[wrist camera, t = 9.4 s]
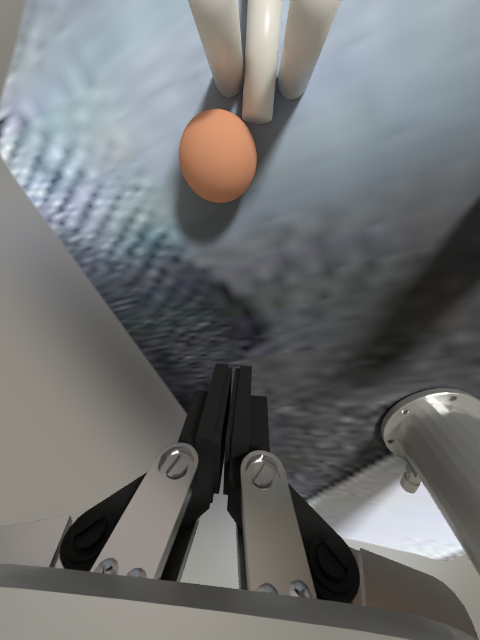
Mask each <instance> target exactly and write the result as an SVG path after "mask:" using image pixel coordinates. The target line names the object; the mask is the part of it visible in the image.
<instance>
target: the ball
mask: <svg viewBox="0 0 480 640" xmlns="http://www.w3.org/2000/svg"><path fill="white" fill-rule="evenodd" d="M179 159H180V166H181V170H182V173H183V175H184V178H185V180H186V181H187V183H188V185H189V186H190V187H191V189H192V190H193V191H194V192H195V193H196V194H197V195H199V196H200V197H202V198H203V199H205V200H207V201H210V202H214V203H226V202H230V201H232V200H235V199H236V198H238V197H239V196H241V195H242V194H243V193H244V192H245V191H246V190H247V188H248V187H249V185H250V184H251V182H252V180H253V177H254V174H255V171H256V165H257V152H256V146H255V142H254V139H253V137H252V134H251V132H250V131H249V129H248V127H247V126H246V125H245V123H244V122H243V121H242V120H241V119H240V118H239V117H237V116H236V115H234V114H233V113H231V112H229V111H226V110H222V109H209V110H206V111H203V112H201V113H199V114H198V115H196V116H195V117H194V118H193V119H192V120H191V121H190V122H189V123H188V125H187V127H186V128H185V130H184V132H183V135H182V138H181V141H180V147H179Z"/></svg>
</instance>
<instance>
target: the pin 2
mask: <svg viewBox="0 0 480 640" xmlns="http://www.w3.org/2000/svg"><path fill="white" fill-rule="evenodd" d="M340 2H341V0H290V5H289V11H288V18H287V24H286V31H285V37H284V43H283V50H282V56H281V63H280V69H279V75H278V88H279V91H280V93H281V94H282V96H283V97H285V98H286V99H289V100H294V99H297V98H299V97H300V96H301V95H302V94H303V93H304V92H305V90H306V88H307V85H308V83H309V80H310V78H311V75H312V73H313V70H314V68H315V65H316V63H317V60H318V58H319V55H320V53H321V50H322V47H323V45H324V42H325V40H326V37H327V35H328V32H329V30H330V27H331V25H332V22H333V20H334V17H335V15H336V12H337V10H338V7H339V4H340Z"/></svg>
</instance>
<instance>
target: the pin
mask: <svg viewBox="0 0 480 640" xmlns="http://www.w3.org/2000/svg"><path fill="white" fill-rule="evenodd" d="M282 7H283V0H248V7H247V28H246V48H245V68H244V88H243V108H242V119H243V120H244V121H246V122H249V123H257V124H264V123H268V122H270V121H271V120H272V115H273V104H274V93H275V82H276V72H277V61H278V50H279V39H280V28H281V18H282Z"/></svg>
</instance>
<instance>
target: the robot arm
mask: <svg viewBox="0 0 480 640" xmlns="http://www.w3.org/2000/svg"><path fill="white" fill-rule="evenodd" d="M251 374H252V366H241V365H240V369H239V368H235V375H234V383H233V390H232V397H231V380H232V368H228V364H217V363H216V365H215V369H214V373H213V376H212V380H211V384H210V387H209V391H208V392H207V391H196V392H195V394H194V397H193V400H192V403H191V406H190V409H189V411H188V414H187V417H186V420H185V423H184V426H183V429H182V432H181V435H180V437H179V440H178V443H174V444H171V445H169V446H167V447H165V448H164V449H163V450H162V451H160V453H159V454H158V455H157V456H156V458H155V460H154V461H153V463H152V465H151V467H150V469H149V470H148V472H147V473H145V474H144V475H142V476H141V477H139V478H137V479H136V480H134V481H133V482H132V483H130V484H128V485H127V486H125V487H124V488H122V489H120V490H119V491H117V492H116V493H114V494H113V495H111V496H110V497H108V498H106V499H105V500H103V501H102V502H100V503H99V504H97V505H96V506H94V507H93V508H91V509H89V510H88V511H86V512H85V513H84V514H82V515H81V516H80V517H77V518H71V517H70V516H63V517H57V518H50V519H44V520H38V521H32V522H25V523H19V524H13V525H7V526H1V527H0V640H479V639H478V636H477V633H476V631H475V628H474V625H473V623H472V620H471V618H470V616H469V614H468V612H467V610H466V608H465V606H464V605H463V604H462V602H461V601H460V600H459V598H458V597H457V596H456V594H455V593H454V592H453V591H452V590H451V589H450V588H449V587H448V586H447V585H445V584H444V583H443V582H442V581H440V580H438V579H437V578H435V577H433V576H431V575H428V574H426V573H423V572H421V571H418V570H415V569H413V568H411V567H408V566H406V565H403V564H400V563H398V562H395V561H393V560H390V559H388V558H385V557H383V556H380V555H377V554H375V553H372V552H369V551H367V550H365V549H362V548H360V550H359V551H358V550H355V549H353V548H351V547H348V545H347V544H346V543H345V542H344V540H343V539H342V538H341V537H340V536H339V535H338V534H337V533H336V532H335V531H334V530H333V529H332V528H331V527H330V526H329V525H328V524H327V523H326V522H325V521H324V520H323V519H322V518H321V517H320V516H319V515H318V514H317V513H316V511H315V510H314V509H313V508H312V507H311V506H310V505H309V504H308V503H307V502H306V501H305V500H304V499H303V498H302V497H301V496H300V495H299V494H298V493H297V492H296V491H295V490H294V489H293V488H292V487H291V486H290V485H289V484H288V482H287V478H286V475H285V471H284V468H283V465H282V463H281V462H280V461H279V459H278V458H277V457H276V456H274V455H273V454H272V453H270V448H269V429H268V410H267V397H263V396H252V395H251ZM230 400H231V404H230ZM381 436H382V439H383V441H384V442H385V444H386V446H387V447H388V449H389V450H390V451H391V452H393V453H394V454H395V455H397V456H399V457H402V458H404V460H405V462H406V466H405V468H406V470H407V471H406V472H405V473H404V475H403V476H402V478H401V480H400V484H401V486H402V488H403V489H404V490H405V491H407V492H409V493H415V492H416V490H417V489H418V487H419V485H420V482H421V481H422V483H423V484H424V486H425V487H426V489H427V491H428V492H429V494H430V496H431V497H432V499H433V500H434V502H435V504H436V505H437V507H438V509H439V510H440V512H441V513H442V515H443V517H444V518H445V520H446V522H447V523H448V525H449V526H450V528H451V530H452V531H453V533H454V535H455V536H456V538H457V539H458V541H459V543H460V544H461V546H462V548H463V549H464V551H465V552H466V554H467V556H468V557H469V559H470V560H471V562H472V564H473V565H474V567H475V569H476V570H477V572H478V573H479V575H480V401H479V400H478V399H477V398H475V397H474V396H473V395H471V394H469V393H467V392H465V391H461V390H458V389H451V388H437V389H430V390H425V391H422V392H418V393H415V394H413V395H411V396H408V397H406V398H405V399H403V400H401V401H400V402H398V403H397V404H396V405H394V406H393V407H392V408H391V409H390V410H389V412H388V413H387V414H386V415H385V417H384V419H383V421H382V424H381ZM224 453H225V464H224V489H223V490H224V491H223V494H226V495H228V505H227V511H228V512H229V514H230V515H231V516H232V518H233V519H234V521H235V522H236V539H237V558H238V575H239V589H232V588H223V587H215V586H207V585H199V584H191V583H182V582H180V580H181V577H182V574H183V570H184V567H185V564H186V561H187V558H188V555H189V551H190V548H191V545H192V542H193V539H194V536H195V533H196V529H197V526H198V523H199V518H200V516H201V515H202V514H203V513H204V512H206V511H207V510H208V509H209V507H210V503H212V501H213V495H214V493H216V494H219V490H220V483H221V475H222V467H223V461H224Z"/></svg>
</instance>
